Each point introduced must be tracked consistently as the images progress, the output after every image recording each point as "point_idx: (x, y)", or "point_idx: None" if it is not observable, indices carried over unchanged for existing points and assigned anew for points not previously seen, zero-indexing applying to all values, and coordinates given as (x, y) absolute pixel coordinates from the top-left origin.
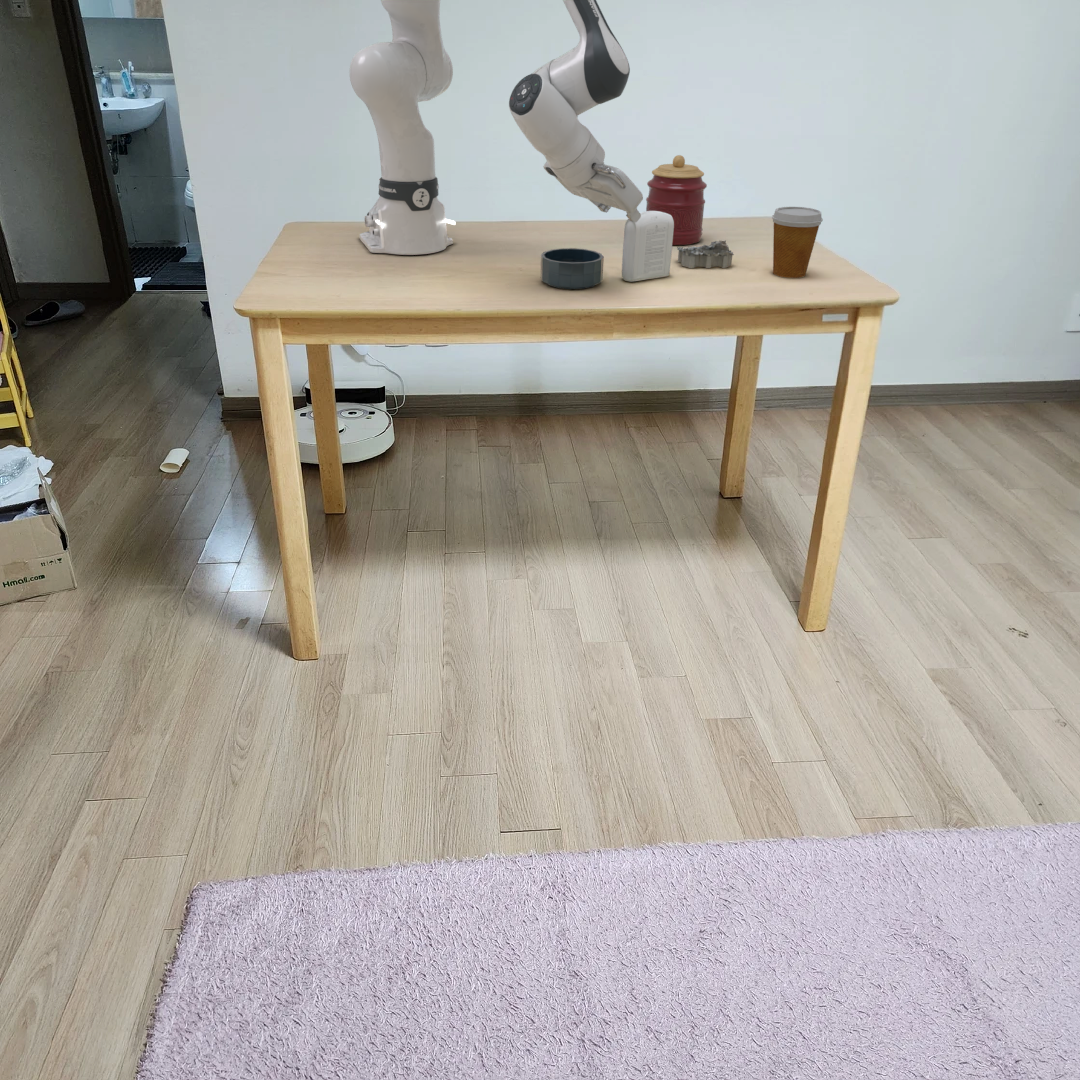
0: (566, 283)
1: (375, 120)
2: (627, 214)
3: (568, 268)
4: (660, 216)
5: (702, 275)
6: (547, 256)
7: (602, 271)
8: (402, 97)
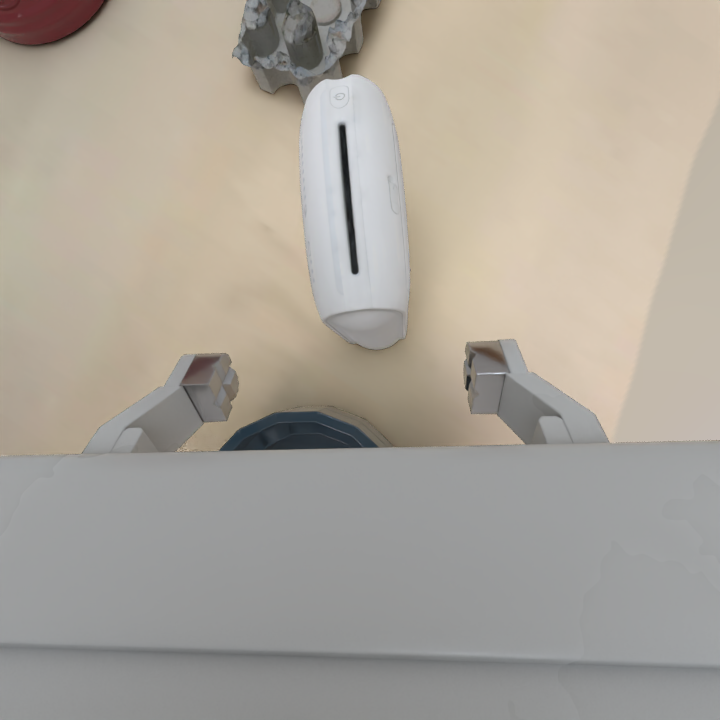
0: None
1: None
2: (515, 432)
3: None
4: (386, 151)
5: (418, 106)
6: None
7: (370, 429)
8: None
